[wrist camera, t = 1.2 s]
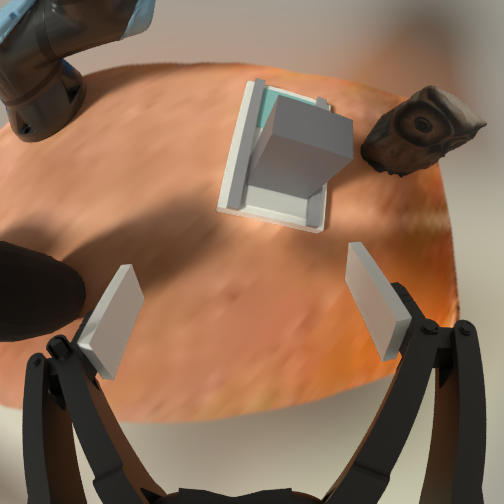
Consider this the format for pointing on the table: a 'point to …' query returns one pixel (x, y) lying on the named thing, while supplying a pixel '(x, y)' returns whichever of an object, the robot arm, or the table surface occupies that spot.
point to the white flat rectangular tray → (239, 160)
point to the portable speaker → (36, 293)
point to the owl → (420, 132)
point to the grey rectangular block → (300, 148)
